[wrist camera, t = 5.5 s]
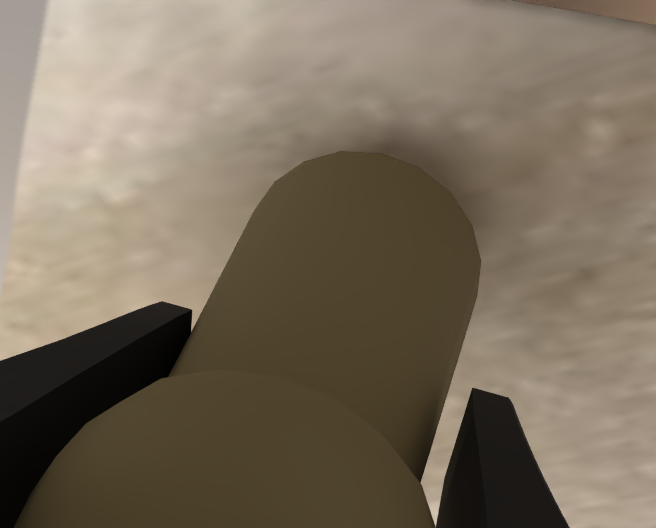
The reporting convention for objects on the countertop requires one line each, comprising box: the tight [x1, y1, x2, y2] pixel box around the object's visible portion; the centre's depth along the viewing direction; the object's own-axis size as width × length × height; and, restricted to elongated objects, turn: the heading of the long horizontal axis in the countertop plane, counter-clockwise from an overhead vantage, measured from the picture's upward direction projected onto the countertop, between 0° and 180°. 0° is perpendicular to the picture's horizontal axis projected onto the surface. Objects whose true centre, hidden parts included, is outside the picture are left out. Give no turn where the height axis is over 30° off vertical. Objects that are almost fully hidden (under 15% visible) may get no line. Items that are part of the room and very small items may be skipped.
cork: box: [13, 151, 481, 528], centre depth 11 cm, size 6×6×11 cm
